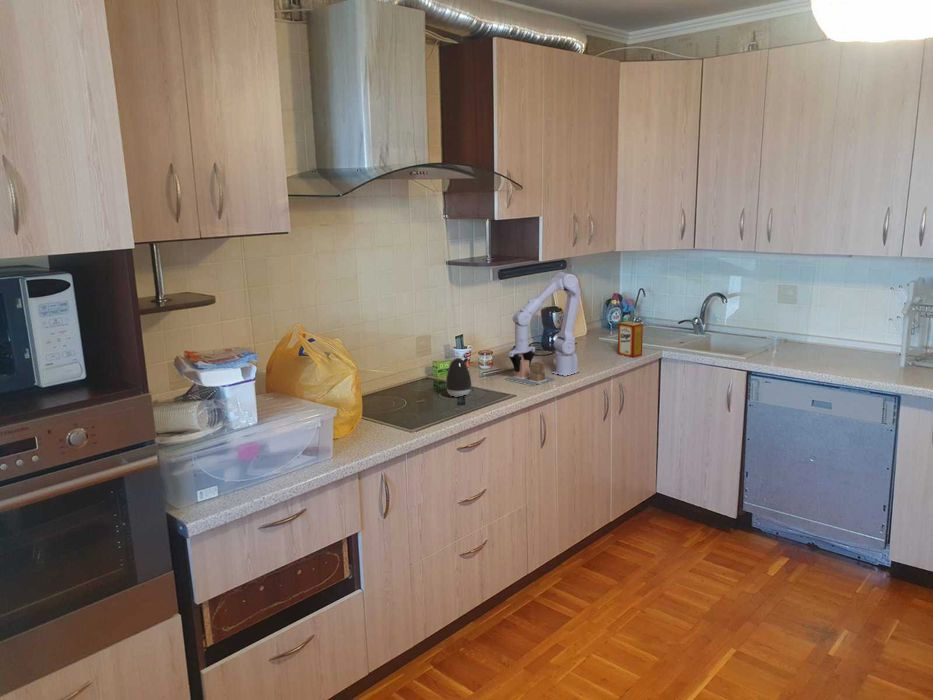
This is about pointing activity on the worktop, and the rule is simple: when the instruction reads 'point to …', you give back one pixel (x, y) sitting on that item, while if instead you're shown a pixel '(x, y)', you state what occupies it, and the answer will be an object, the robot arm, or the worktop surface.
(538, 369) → the walnut pillar
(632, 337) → the baking soda box
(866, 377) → the worktop surface
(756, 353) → the worktop surface
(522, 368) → the terracotta pillar
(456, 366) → the black egg-shaped speaker
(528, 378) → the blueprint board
